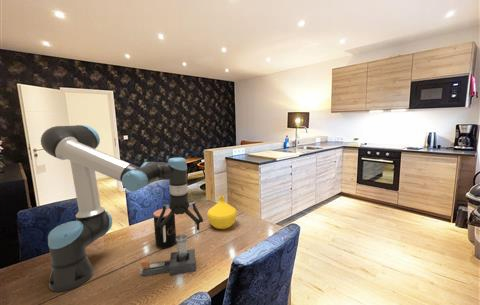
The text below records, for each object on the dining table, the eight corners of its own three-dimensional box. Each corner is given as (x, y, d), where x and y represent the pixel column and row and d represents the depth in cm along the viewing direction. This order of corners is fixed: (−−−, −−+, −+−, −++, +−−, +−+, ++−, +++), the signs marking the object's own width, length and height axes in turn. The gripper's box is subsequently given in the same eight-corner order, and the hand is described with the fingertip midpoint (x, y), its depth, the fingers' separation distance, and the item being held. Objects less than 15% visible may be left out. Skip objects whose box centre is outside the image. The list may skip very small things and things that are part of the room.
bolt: (140, 274, 97) (139, 262, 97) (141, 270, 100) (140, 259, 99) (164, 270, 100) (164, 259, 99) (165, 266, 102) (164, 255, 101)
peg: (177, 270, 100) (175, 240, 98) (177, 263, 104) (175, 235, 102) (188, 268, 101) (187, 239, 99) (188, 261, 106) (187, 233, 104)
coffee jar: (170, 249, 115) (168, 216, 113) (151, 248, 118) (149, 215, 115) (179, 239, 126) (178, 208, 123) (162, 237, 128) (160, 207, 125)
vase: (221, 216, 154) (220, 189, 151) (242, 223, 143) (242, 194, 140) (201, 227, 139) (200, 197, 136) (224, 235, 128) (223, 203, 126)
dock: (141, 280, 93) (140, 272, 93) (145, 264, 104) (144, 256, 103) (196, 271, 99) (195, 262, 98) (195, 256, 109) (194, 248, 109)
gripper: (146, 198, 91) (149, 246, 94) (208, 193, 97) (209, 239, 100) (149, 192, 98) (152, 237, 101) (206, 188, 104) (207, 231, 107)
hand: (180, 238), depth 101 cm, fingers open, 13 cm apart
